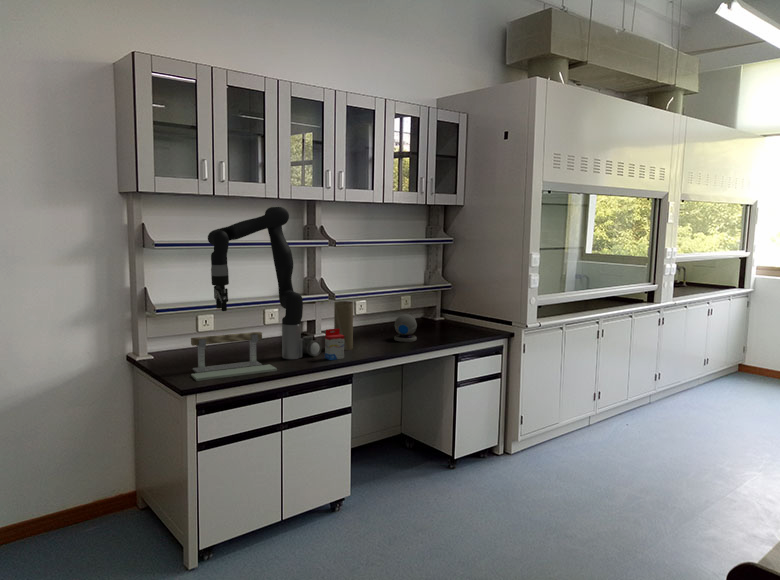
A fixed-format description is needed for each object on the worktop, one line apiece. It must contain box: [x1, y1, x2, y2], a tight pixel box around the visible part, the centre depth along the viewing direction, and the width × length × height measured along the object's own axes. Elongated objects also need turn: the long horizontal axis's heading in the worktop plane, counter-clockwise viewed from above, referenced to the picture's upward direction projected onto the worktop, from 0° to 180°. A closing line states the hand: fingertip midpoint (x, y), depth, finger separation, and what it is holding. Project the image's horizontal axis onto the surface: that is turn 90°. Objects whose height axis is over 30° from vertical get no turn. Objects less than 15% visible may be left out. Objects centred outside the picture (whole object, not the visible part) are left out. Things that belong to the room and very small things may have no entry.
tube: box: [333, 300, 354, 351], centre depth 316 cm, size 10×10×25 cm
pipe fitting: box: [302, 334, 322, 357], centre depth 301 cm, size 12×8×10 cm
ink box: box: [324, 328, 345, 361], centre depth 293 cm, size 8×5×15 cm, turn 126°
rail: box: [190, 331, 263, 347], centre depth 269 cm, size 32×3×3 cm, turn 122°
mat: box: [190, 364, 278, 382], centre depth 262 cm, size 36×9×1 cm, turn 122°
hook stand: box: [192, 334, 263, 374], centre depth 270 cm, size 30×8×15 cm, turn 122°
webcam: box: [393, 313, 418, 343], centre depth 343 cm, size 13×13×15 cm
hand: (221, 309), depth 268 cm, fingers open, 8 cm apart
